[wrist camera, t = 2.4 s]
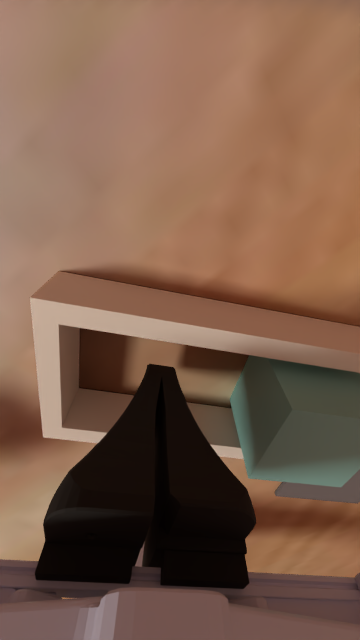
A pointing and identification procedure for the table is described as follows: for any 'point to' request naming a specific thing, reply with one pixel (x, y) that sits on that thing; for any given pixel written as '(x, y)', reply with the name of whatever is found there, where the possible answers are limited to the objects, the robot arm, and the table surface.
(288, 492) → the mat
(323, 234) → the table surface
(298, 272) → the table surface
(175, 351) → the table surface
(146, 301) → the frame
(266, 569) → the table surface
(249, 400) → the block
